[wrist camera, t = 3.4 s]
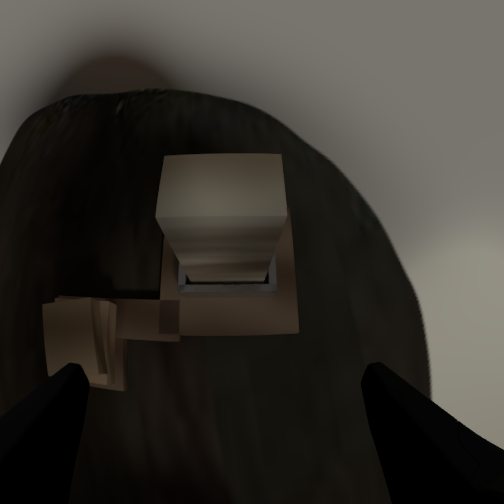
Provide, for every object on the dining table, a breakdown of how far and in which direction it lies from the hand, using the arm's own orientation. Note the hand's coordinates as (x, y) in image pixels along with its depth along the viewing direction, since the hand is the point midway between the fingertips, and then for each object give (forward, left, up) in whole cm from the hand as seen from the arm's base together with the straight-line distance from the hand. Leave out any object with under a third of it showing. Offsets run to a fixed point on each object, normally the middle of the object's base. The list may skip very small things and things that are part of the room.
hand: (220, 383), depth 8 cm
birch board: (+7, -3, -12) cm, 14 cm away
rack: (+7, +2, -13) cm, 14 cm away
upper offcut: (+6, +9, -10) cm, 15 cm away
